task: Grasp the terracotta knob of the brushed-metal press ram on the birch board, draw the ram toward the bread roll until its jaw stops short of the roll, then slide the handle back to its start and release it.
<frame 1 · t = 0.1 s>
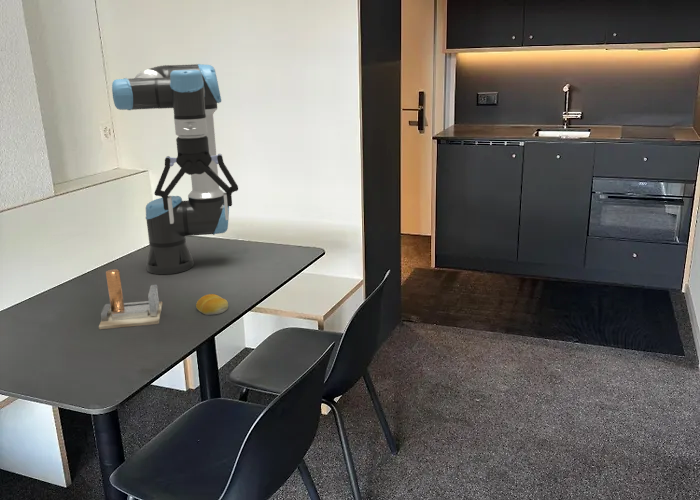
hand: (199, 220, 162), 28 cm above the table, fingers open, 13 cm apart
board: (132, 316, 175), on the table
rails: (134, 316, 175), resting on board
bread roll: (212, 310, 179), on the table
ram: (132, 291, 173), point 7 cm above the table, slide at 0.0 cm
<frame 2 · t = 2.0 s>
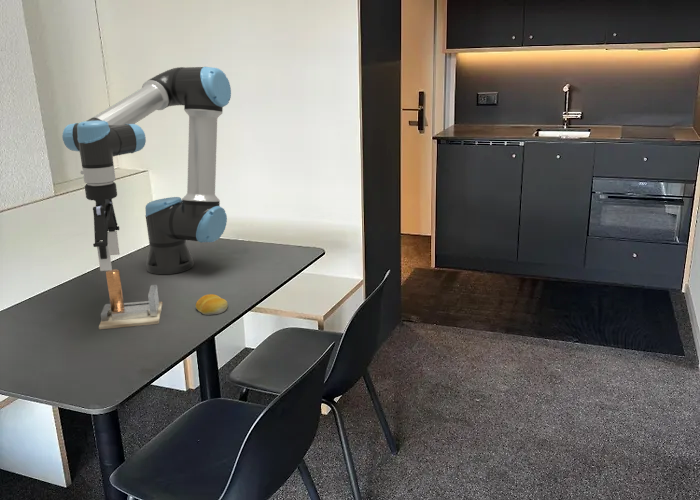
hand: (110, 262, 170), 16 cm above the table, fingers open, 13 cm apart
nothing on the table moved.
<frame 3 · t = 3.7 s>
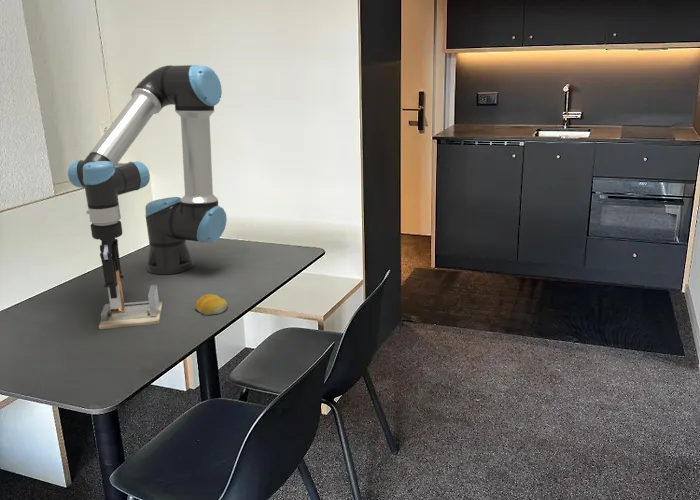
hand: (117, 305, 174), 4 cm above the table, fingers closed on ram, 3 cm apart
ram: (132, 291, 173), point 7 cm above the table, slide at 0.0 cm, touching gripper
everything else where it was.
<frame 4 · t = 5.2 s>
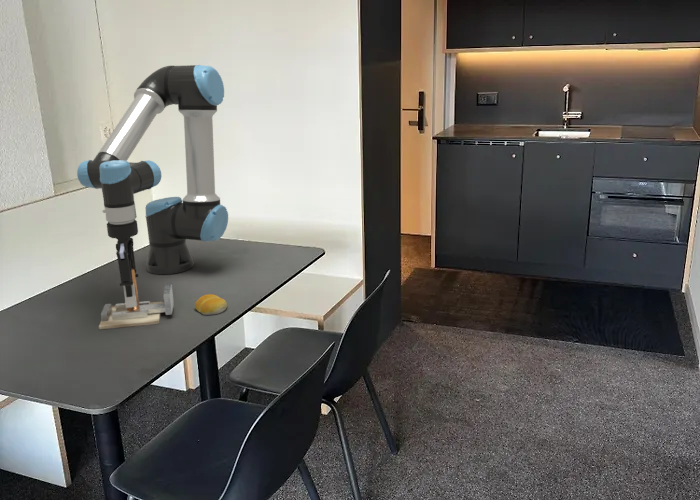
hand: (132, 303, 174), 4 cm above the table, fingers closed on ram, 3 cm apart
ram: (147, 290, 174), point 7 cm above the table, slide at 3.9 cm, touching gripper
everything else where it was.
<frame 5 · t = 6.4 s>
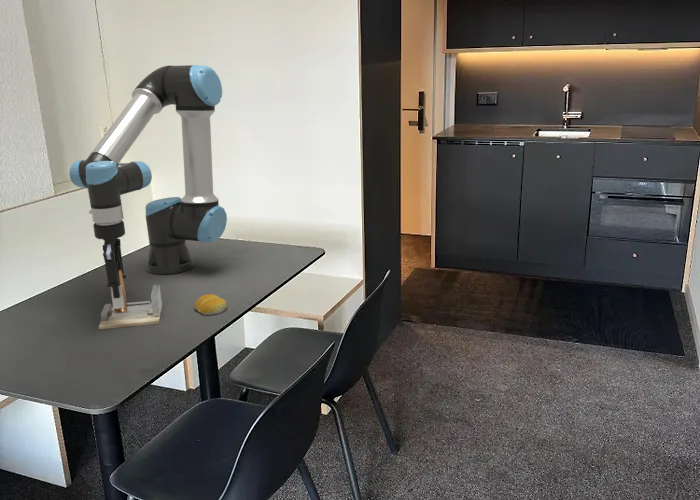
hand: (120, 305, 174), 4 cm above the table, fingers closed on ram, 3 cm apart
ram: (135, 291, 173), point 7 cm above the table, slide at 0.7 cm, touching gripper
everything else where it was.
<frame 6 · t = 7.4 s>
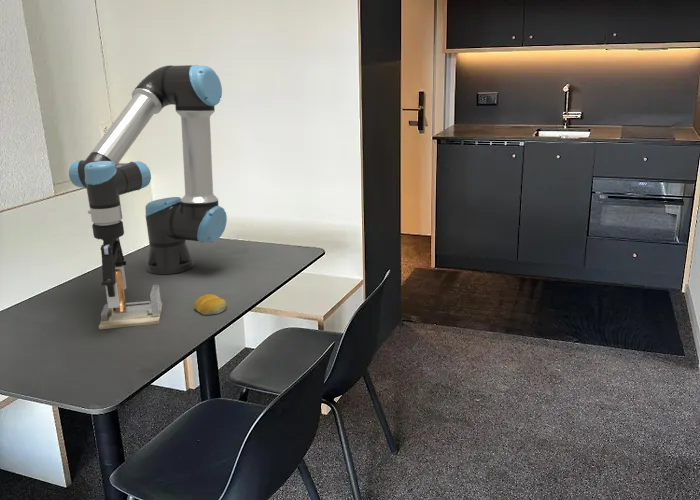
hand: (117, 297, 173), 6 cm above the table, fingers open, 13 cm apart
ram: (134, 291, 173), point 7 cm above the table, slide at 0.5 cm
everything else where it was.
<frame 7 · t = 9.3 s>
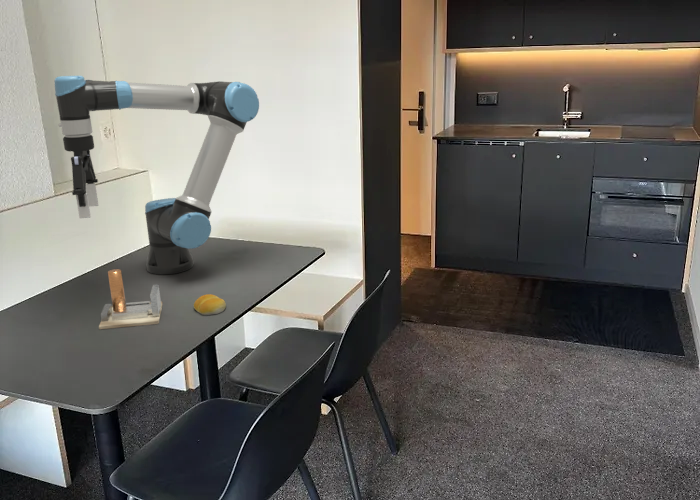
hand: (89, 211, 179), 27 cm above the table, fingers open, 13 cm apart
nothing on the table moved.
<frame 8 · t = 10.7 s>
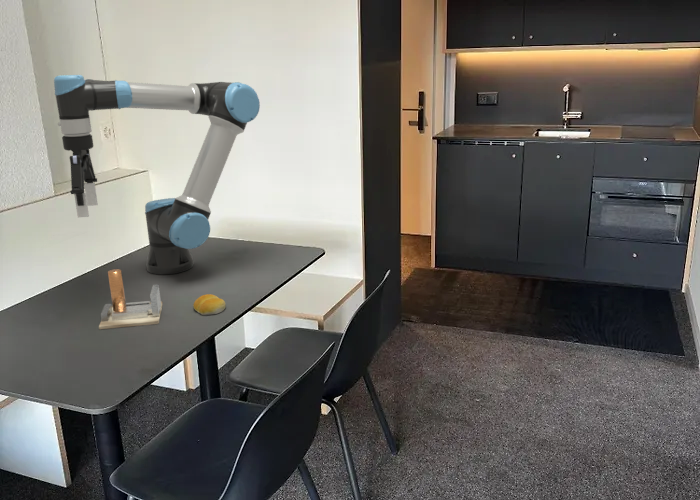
hand: (88, 210, 179), 27 cm above the table, fingers open, 13 cm apart
nothing on the table moved.
at the end: ram slide at 0.5 cm; bread roll inside the target area (0.8 cm from its centre), on the table; the gripper is holding nothing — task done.
